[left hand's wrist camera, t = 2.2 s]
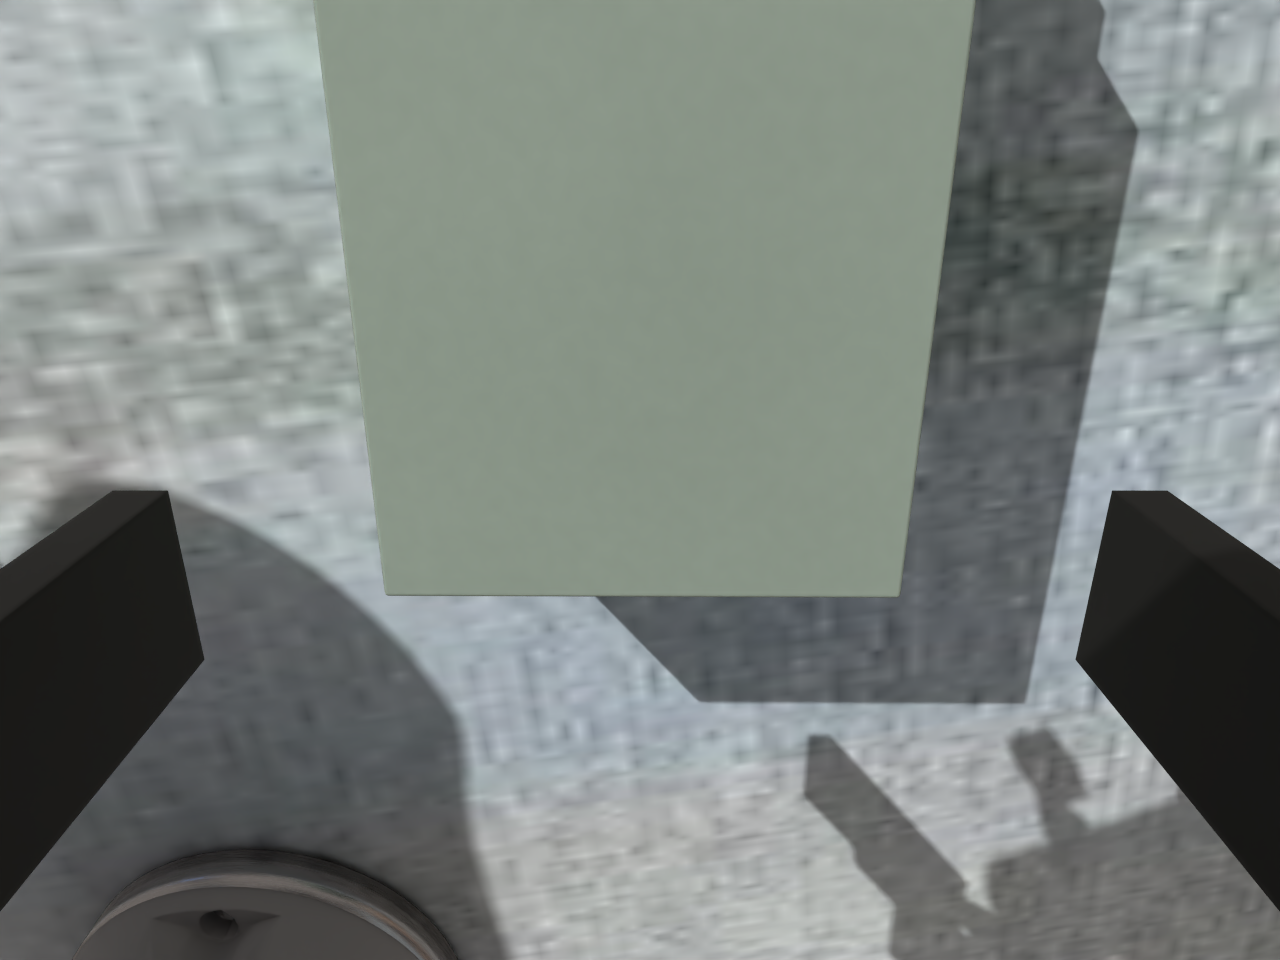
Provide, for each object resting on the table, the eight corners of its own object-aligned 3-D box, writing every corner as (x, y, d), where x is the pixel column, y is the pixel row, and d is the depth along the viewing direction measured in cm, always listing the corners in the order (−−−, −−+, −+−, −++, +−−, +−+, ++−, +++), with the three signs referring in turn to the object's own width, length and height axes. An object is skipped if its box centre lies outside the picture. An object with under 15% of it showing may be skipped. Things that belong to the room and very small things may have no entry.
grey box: (398, -294, 20) (243, -555, 13) (892, -294, 20) (1048, -554, 13) (458, 460, 27) (383, 597, 20) (827, 461, 27) (900, 599, 20)
